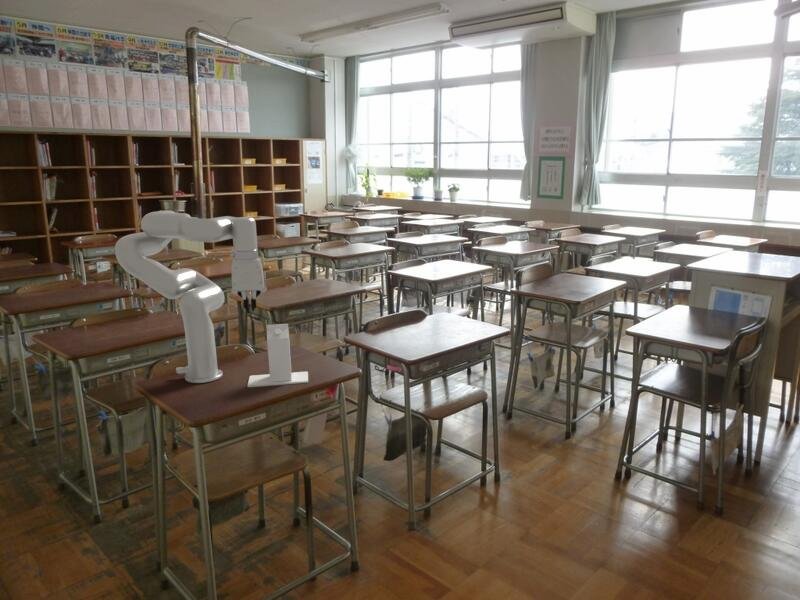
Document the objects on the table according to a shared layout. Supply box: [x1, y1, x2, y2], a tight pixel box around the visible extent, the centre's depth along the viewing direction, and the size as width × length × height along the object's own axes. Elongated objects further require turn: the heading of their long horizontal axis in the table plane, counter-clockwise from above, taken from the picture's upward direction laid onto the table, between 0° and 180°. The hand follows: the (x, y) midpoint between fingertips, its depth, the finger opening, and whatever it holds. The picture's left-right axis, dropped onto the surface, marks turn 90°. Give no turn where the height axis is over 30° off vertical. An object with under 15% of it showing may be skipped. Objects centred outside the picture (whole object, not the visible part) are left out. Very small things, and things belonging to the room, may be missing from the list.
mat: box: [246, 370, 309, 388], centre depth 210 cm, size 20×10×1 cm, turn 99°
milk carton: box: [266, 323, 292, 382], centre depth 208 cm, size 7×7×19 cm
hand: (250, 310), depth 203 cm, fingers closed
